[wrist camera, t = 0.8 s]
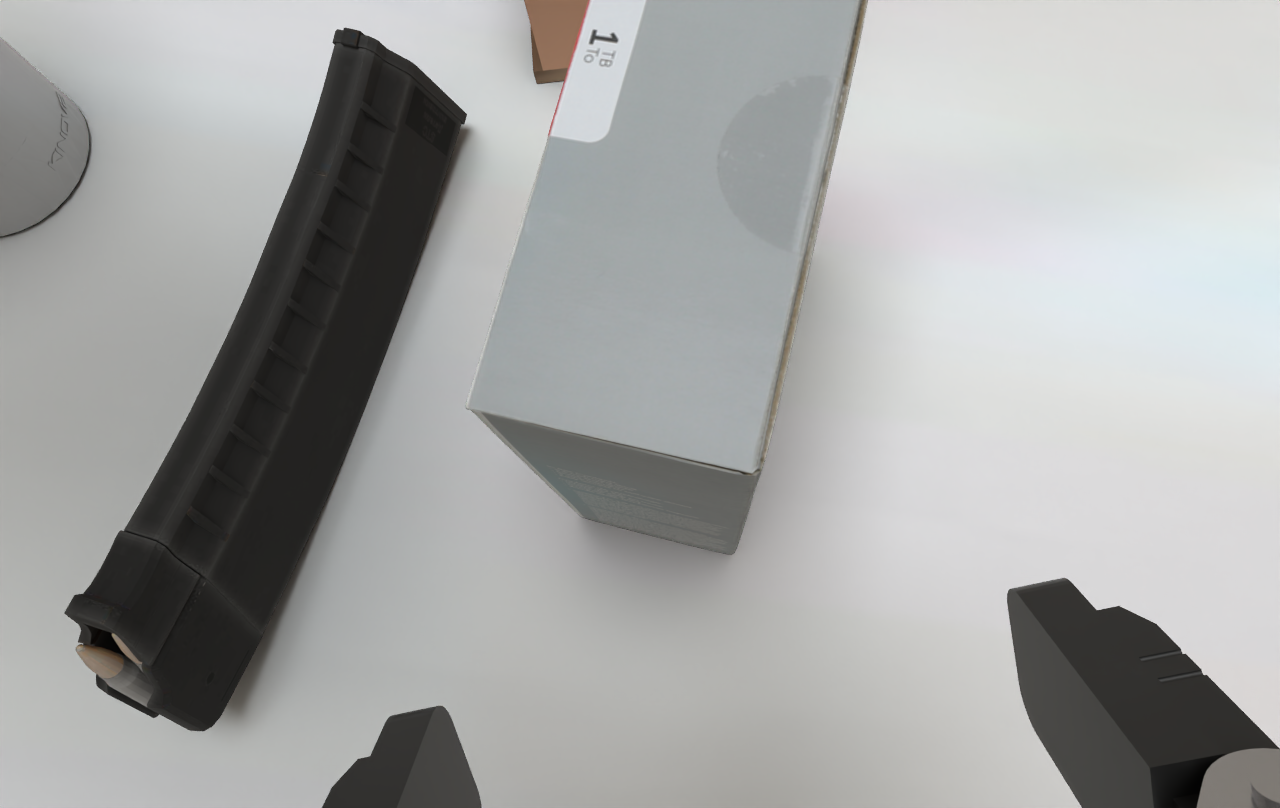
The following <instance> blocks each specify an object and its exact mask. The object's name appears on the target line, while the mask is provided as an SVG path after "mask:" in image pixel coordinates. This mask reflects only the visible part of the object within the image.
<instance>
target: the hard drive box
mask: <svg viewBox="0 0 1280 808" xmlns="http://www.w3.org/2000/svg"><path fill="white" fill-rule="evenodd" d="M867 3H868V0H588V3H587V7H586V10H585V13H584V17H583V20H582V23H581V26H580V29H579V32H578V35H577V38H576V42H575V45H574V49H573V52H572V56H571V59H570V63H569V66H568V70H567V73H566V77H565V80H564V83H563V87H562V90H561V93H560V97H559V100H558V103H557V107H556V110H555V113H554V117H553V120H552V123H551V126H550V130H549V134H548V139H547V143H546V146H545V150H544V153H543V156H542V159H541V163H540V166H539V169H538V172H537V176H536V179H535V182H534V185H533V188H532V191H531V194H530V198H529V201H528V204H527V207H526V210H525V213H524V216H523V219H522V222H521V225H520V228H519V231H518V234H517V237H516V241H515V244H514V248H513V251H512V254H511V257H510V261H509V264H508V267H507V270H506V274H505V277H504V281H503V284H502V288H501V291H500V295H499V298H498V301H497V304H496V307H495V310H494V314H493V317H492V320H491V324H490V327H489V330H488V334H487V337H486V340H485V344H484V347H483V350H482V353H481V356H480V360H479V363H478V366H477V369H476V373H475V376H474V379H473V382H472V385H471V389H470V392H469V395H468V398H467V401H466V405H465V407H466V409H468V410H471V411H472V412H473V413H475V414H476V415H477V416H478V417H479V418H480V420H481V421H482V422H483V423H485V424H486V425H487V426H488V427H489V428H490V429H491V431H492V432H493V433H494V434H496V435H497V436H498V437H499V438H500V439H501V440H502V441H503V442H504V443H505V444H506V445H507V446H508V447H509V448H510V449H511V450H512V451H513V452H514V453H515V454H516V455H517V456H518V457H519V458H520V459H521V460H522V461H523V462H525V463H526V464H527V465H528V466H529V467H530V468H531V469H532V470H533V471H534V472H535V473H536V474H537V475H538V476H539V477H540V478H541V479H542V480H543V481H544V482H545V483H546V484H547V485H548V486H549V487H550V488H551V489H552V490H553V491H555V492H556V493H557V494H558V495H559V496H560V497H561V498H562V499H563V500H564V501H565V502H566V503H567V504H568V505H569V506H570V507H571V508H572V509H573V510H574V511H575V512H576V513H577V514H578V515H579V516H581V517H583V518H586V519H590V520H594V521H597V522H601V523H605V524H609V525H612V526H616V527H620V528H624V529H628V530H631V531H635V532H639V533H643V534H647V535H651V536H655V537H659V538H663V539H667V540H671V541H675V542H679V543H683V544H687V545H691V546H695V547H699V548H703V549H707V550H711V551H716V552H721V553H725V554H730V555H731V554H733V553H734V552H735V550H736V548H737V546H738V543H739V540H740V537H741V534H742V531H743V528H744V525H745V522H746V518H747V515H748V511H749V508H750V505H751V501H752V498H753V495H754V491H755V488H756V485H757V482H758V479H759V477H760V474H761V471H762V468H763V465H764V462H765V459H766V456H767V452H768V448H769V444H770V440H771V436H772V432H773V428H774V424H775V420H776V415H777V411H778V407H779V402H780V398H781V393H782V389H783V385H784V380H785V376H786V372H787V367H788V363H789V358H790V354H791V349H792V345H793V340H794V336H795V331H796V327H797V322H798V318H799V313H800V309H801V304H802V300H803V295H804V291H805V286H806V282H807V277H808V273H809V268H810V264H811V259H812V255H813V250H814V246H815V241H816V237H817V232H818V228H819V223H820V219H821V214H822V210H823V205H824V201H825V197H826V192H827V188H828V183H829V179H830V174H831V170H832V165H833V161H834V156H835V152H836V148H837V143H838V139H839V134H840V130H841V125H842V121H843V117H844V113H845V108H846V104H847V100H848V95H849V90H850V86H851V81H852V76H853V72H854V67H855V62H856V58H857V53H858V48H859V44H860V39H861V34H862V29H863V24H864V18H865V13H866V8H867Z"/></svg>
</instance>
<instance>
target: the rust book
mask: <svg viewBox="0 0 1280 808" xmlns="http://www.w3.org/2000/svg"><path fill="white" fill-rule="evenodd" d="M524 1H525V5H526V9H527V12H528V16H529V20H530V24H531V27H532V31H533V35H534V39H535V42H536V46H537V50H538V54H539V57H540V61H541V65H542V68H543V71H545V70H553V69H562V68H568V66H569V63H570V59H571V56H572V52H573V49H574V45H575V42H576V38H577V35H578V32H579V29H580V26H581V23H582V20H583V17H584V13H585V10H586V7H587V3H588V0H524Z"/></svg>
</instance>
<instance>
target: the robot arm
mask: <svg viewBox="0 0 1280 808" xmlns="http://www.w3.org/2000/svg"><path fill="white" fill-rule="evenodd" d="M88 152H89V132H88V129H87V125H86V122H85V118H84V117H83V115H82V113H81V112H80V110H79V108H78V107H77V105H76V104H74V103H73V102H72V101H71V100H70V99H69V98H68V97H67V96H66V95H65V94H64V93H63V92H62V91H60V90H59V89H58V88H57V87H56V86H55V85H54V84H53V83H51V82H50V81H49V80H48V79H47V78H46V77H45V76H44V75H42V74H41V73H40V72H39V71H38V70H37V69H36V68H35V67H33V66H32V65H31V64H30V63H29V62H28V61H27V60H25V59H24V58H23V57H22V56H21V55H20V54H19V53H18V52H17V51H16V50H15V49H13V48H12V47H11V46H10V45H9V44H8V43H7V42H6V41H4V40H3V39H2V38H1V37H0V236H5V235H8V234H12V233H15V232H19V231H22V230H24V229H26V228H28V227H30V226H32V225H34V224H36V223H38V222H40V221H41V220H42V219H44V218H45V217H47V216H48V215H49V214H51V213H52V212H53V211H55V210H56V209H57V208H58V207H59V206H60V205H61V204H62V203H63V202H64V201H65V200H66V199H67V198H68V196H69V195H70V193H71V192H72V190H73V189H74V188H75V186H76V185H77V183H78V182H79V179H80V177H81V175H82V173H83V170H84V168H85V166H86V161H87V157H88ZM1007 603H1008V611H1009V618H1010V625H1011V632H1012V639H1013V645H1014V652H1015V659H1016V666H1017V673H1018V680H1019V686H1020V691H1021V695H1022V699H1023V702H1024V705H1025V708H1026V711H1027V714H1028V717H1029V719H1030V721H1031V724H1032V726H1033V728H1034V730H1035V732H1036V734H1037V735H1038V737H1039V739H1040V740H1041V742H1042V743H1043V745H1044V747H1045V748H1046V750H1047V752H1048V753H1049V755H1050V756H1051V758H1052V760H1053V761H1054V763H1055V765H1056V766H1057V768H1058V769H1059V771H1060V773H1061V774H1062V776H1063V777H1064V779H1065V781H1066V782H1067V784H1068V786H1069V787H1070V789H1071V790H1072V792H1073V794H1074V795H1075V797H1076V799H1077V800H1078V802H1079V803H1080V805H1081V807H1082V808H1280V749H1279V748H1278V747H1277V746H1276V745H1275V744H1274V743H1273V742H1272V740H1271V739H1270V738H1269V737H1268V736H1267V735H1266V734H1265V733H1264V732H1263V731H1262V730H1261V729H1260V728H1259V727H1258V726H1257V725H1256V724H1255V723H1254V722H1253V721H1252V720H1251V719H1250V718H1249V717H1248V716H1247V715H1246V714H1245V713H1244V712H1243V711H1242V710H1241V709H1240V708H1239V707H1238V706H1237V705H1236V704H1235V703H1234V702H1233V701H1232V700H1231V699H1230V698H1229V697H1228V696H1227V695H1226V694H1225V693H1224V692H1223V691H1222V690H1221V689H1220V688H1219V687H1218V686H1217V685H1216V684H1215V683H1214V682H1213V681H1212V680H1211V679H1210V678H1209V677H1208V676H1207V675H1203V674H1202V671H1201V669H1200V668H1199V667H1198V666H1197V665H1196V664H1195V663H1194V662H1193V661H1192V660H1191V659H1190V658H1189V657H1188V656H1187V655H1186V654H1182V652H1181V649H1180V648H1179V647H1178V646H1177V645H1176V644H1175V643H1174V642H1173V641H1172V640H1171V639H1170V637H1169V636H1168V635H1167V634H1166V633H1165V632H1164V631H1163V630H1162V629H1161V628H1160V627H1159V626H1158V625H1157V624H1155V623H1153V622H1151V621H1149V620H1147V619H1145V618H1143V617H1141V616H1138V615H1136V614H1134V613H1132V612H1130V611H1128V610H1126V609H1124V608H1122V607H1120V606H1117V607H1112V608H1107V609H1102V610H1096V609H1095V608H1094V607H1093V606H1092V605H1091V604H1090V603H1089V601H1088V600H1087V599H1086V598H1085V597H1084V596H1083V595H1082V594H1081V592H1080V591H1079V590H1078V589H1077V588H1076V587H1075V586H1074V585H1073V584H1072V583H1071V582H1070V581H1069V580H1068V579H1066V578H1061V579H1056V580H1051V581H1047V582H1042V583H1037V584H1032V585H1027V586H1022V587H1018V588H1013V589H1009V591H1008V594H1007ZM322 808H482V807H481V801H480V796H479V792H478V789H477V786H476V784H475V781H474V778H473V776H472V773H471V770H470V768H469V765H468V762H467V759H466V757H465V754H464V751H463V749H462V746H461V743H460V741H459V738H458V735H457V732H456V730H455V727H454V724H453V722H452V719H451V717H450V715H449V713H448V711H447V710H446V709H445V708H444V707H443V706H436V707H431V708H426V709H421V710H416V711H412V712H407V713H402V714H397V715H392V716H390V717H389V718H388V719H387V721H386V723H385V725H384V727H383V729H382V731H381V734H380V736H379V738H378V740H377V743H376V745H375V747H374V749H373V751H372V754H371V756H370V757H366V758H361V759H358V760H357V761H356V762H355V763H354V764H353V765H352V766H351V767H350V768H349V770H348V771H347V772H346V773H345V774H344V775H343V776H342V777H341V778H340V779H339V780H338V782H337V783H336V784H335V785H334V786H333V787H332V788H331V790H330V792H329V795H328V797H327V799H326V801H325V803H324V805H323V807H322Z"/></svg>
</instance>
